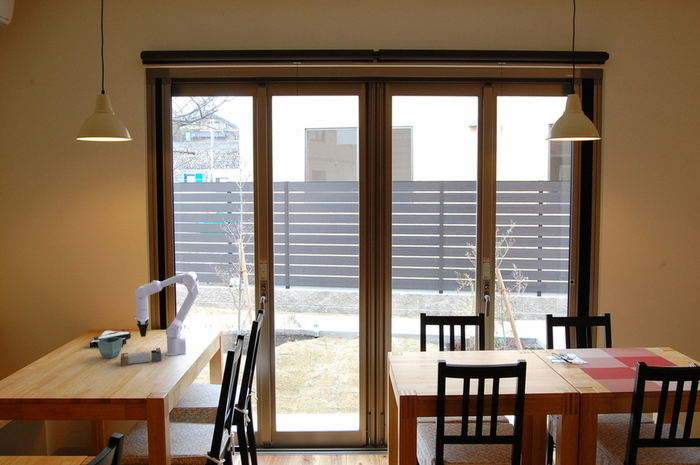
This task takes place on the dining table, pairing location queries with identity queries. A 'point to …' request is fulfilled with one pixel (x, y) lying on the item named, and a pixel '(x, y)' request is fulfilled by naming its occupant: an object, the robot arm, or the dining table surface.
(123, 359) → the socket
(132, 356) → the tube
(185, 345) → the robot arm
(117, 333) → the decorative sign
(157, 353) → the sleeve
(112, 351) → the flower pot
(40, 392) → the dining table surface
